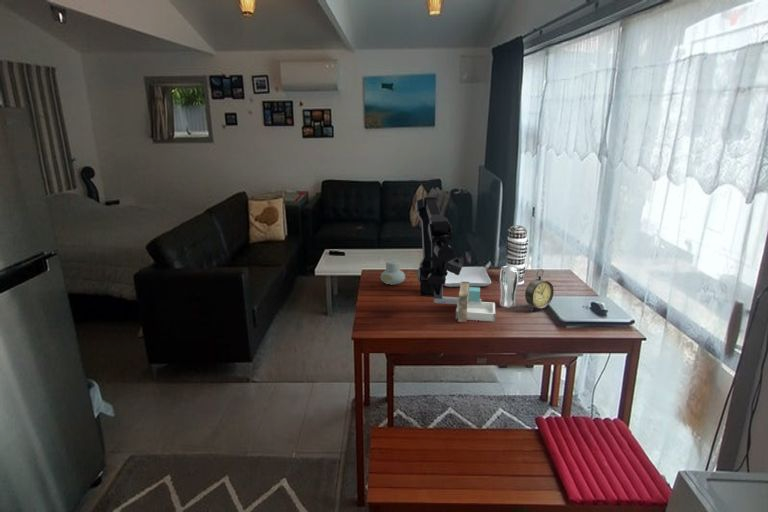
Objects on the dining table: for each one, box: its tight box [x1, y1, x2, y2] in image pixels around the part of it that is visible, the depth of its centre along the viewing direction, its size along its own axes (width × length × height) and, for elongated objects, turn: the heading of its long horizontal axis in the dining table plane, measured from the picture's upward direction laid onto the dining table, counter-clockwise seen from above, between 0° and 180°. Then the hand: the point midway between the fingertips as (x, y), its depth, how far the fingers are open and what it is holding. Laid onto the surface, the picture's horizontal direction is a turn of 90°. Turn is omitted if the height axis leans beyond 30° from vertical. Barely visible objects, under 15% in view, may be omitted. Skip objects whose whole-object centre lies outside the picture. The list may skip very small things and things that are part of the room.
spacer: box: [469, 287, 481, 302], centre depth 172 cm, size 4×4×4 cm
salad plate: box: [443, 266, 492, 288], centre depth 209 cm, size 21×21×3 cm
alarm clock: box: [524, 268, 555, 313], centre depth 175 cm, size 11×5×16 cm, turn 118°
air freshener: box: [380, 259, 406, 286], centre depth 206 cm, size 11×8×10 cm
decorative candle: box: [505, 224, 529, 286], centre depth 203 cm, size 9×9×25 cm
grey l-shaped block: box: [433, 284, 483, 306], centre depth 173 cm, size 18×3×8 cm, turn 78°
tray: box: [455, 301, 496, 323], centre depth 174 cm, size 14×11×3 cm
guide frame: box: [457, 282, 469, 323], centre depth 174 cm, size 3×15×10 cm, turn 168°
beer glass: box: [499, 265, 519, 309], centre depth 180 cm, size 7×7×15 cm
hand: (438, 293), depth 175 cm, fingers open, 3 cm apart
